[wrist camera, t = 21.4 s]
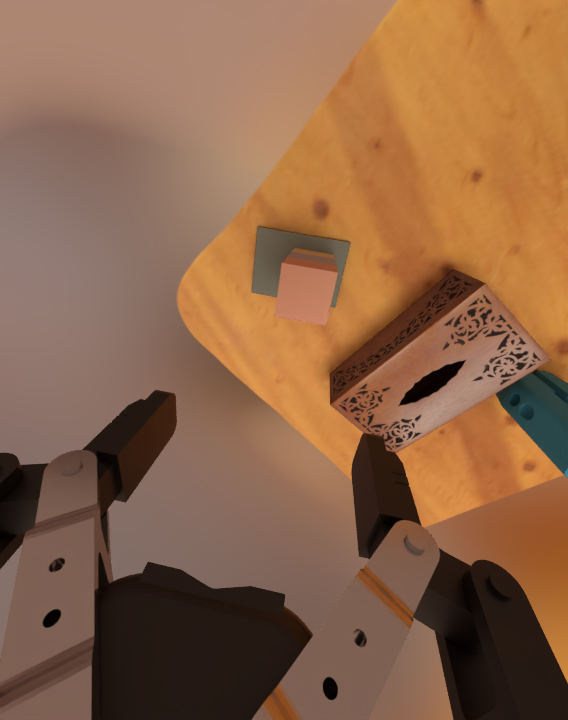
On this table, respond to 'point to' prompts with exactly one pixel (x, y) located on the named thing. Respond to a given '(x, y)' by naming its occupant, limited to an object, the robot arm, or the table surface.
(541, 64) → the table surface
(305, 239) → the felt mat
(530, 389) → the block
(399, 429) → the tissue box cover
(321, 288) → the terracotta block
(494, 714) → the robot arm
